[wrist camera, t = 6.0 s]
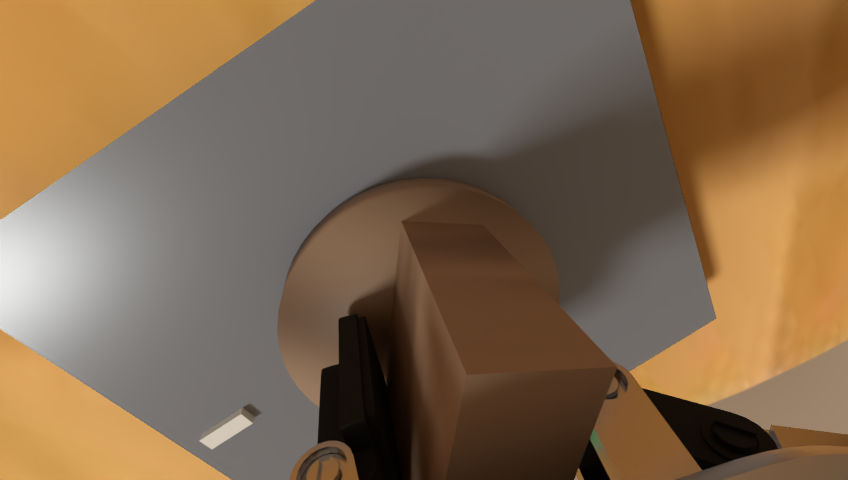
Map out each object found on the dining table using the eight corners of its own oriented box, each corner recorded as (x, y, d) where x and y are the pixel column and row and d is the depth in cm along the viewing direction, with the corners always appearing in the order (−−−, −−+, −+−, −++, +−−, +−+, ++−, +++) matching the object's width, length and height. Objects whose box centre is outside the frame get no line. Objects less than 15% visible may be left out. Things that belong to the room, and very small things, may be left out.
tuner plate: (539, -142, 11) (587, -192, 9) (680, 294, 19) (722, 322, 17) (-18, 245, 12) (-92, 282, 10) (338, 505, 20) (338, 556, 18)
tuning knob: (279, 166, 11) (189, 316, 4) (570, 187, 13) (812, 308, 6) (286, 488, 16) (250, 788, 9) (495, 465, 18) (587, 695, 11)
